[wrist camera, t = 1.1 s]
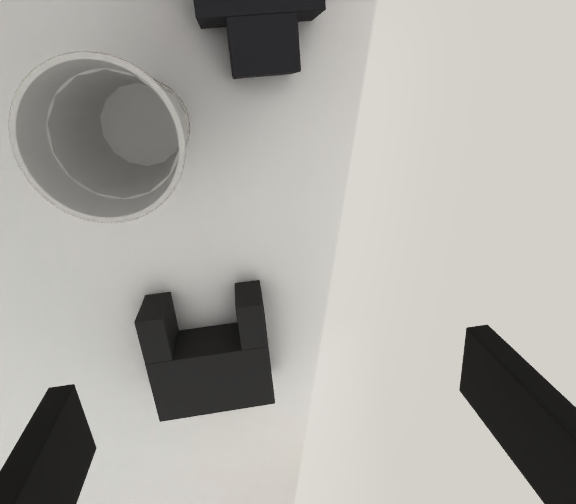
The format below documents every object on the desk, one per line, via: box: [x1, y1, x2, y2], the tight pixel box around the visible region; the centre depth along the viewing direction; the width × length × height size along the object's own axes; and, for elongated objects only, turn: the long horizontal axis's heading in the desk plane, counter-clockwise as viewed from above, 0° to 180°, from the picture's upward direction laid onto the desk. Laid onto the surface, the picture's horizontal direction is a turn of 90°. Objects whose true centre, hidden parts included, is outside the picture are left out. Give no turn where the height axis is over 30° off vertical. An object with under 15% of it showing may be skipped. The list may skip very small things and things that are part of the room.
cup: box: [9, 52, 190, 223], centre depth 25 cm, size 8×8×12 cm
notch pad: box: [135, 280, 275, 422], centre depth 36 cm, size 10×10×4 cm
